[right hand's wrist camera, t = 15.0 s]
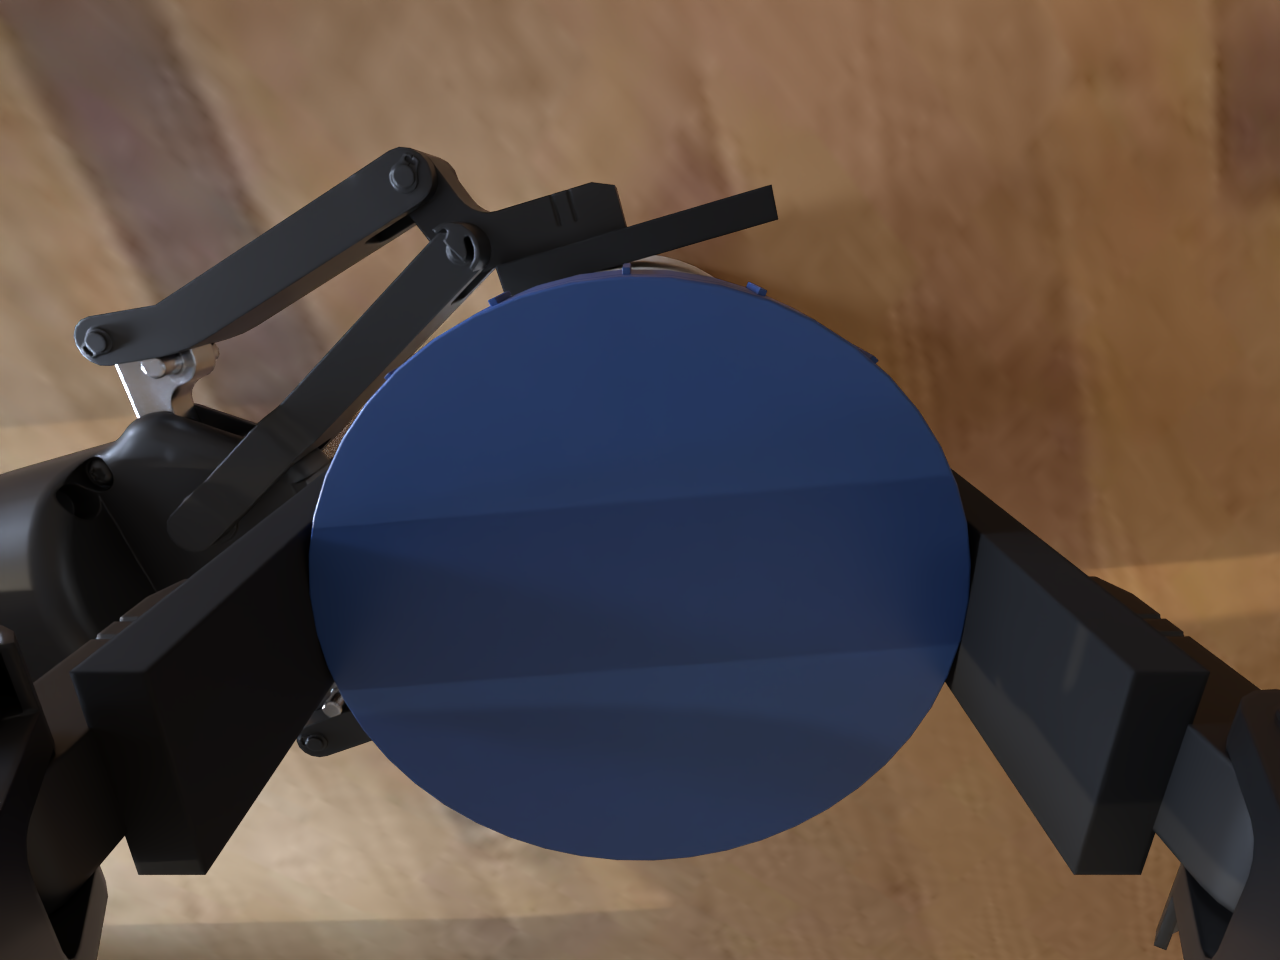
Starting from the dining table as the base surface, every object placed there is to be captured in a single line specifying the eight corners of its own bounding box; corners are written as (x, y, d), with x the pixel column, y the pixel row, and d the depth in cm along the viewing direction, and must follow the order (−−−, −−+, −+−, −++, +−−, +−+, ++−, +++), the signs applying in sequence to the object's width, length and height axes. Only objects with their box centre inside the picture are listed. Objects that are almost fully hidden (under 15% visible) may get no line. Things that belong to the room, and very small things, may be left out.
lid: (481, 843, 14) (462, 916, 12) (234, 383, 11) (169, 409, 9) (970, 720, 13) (1013, 785, 11) (864, 168, 10) (906, 158, 8)
